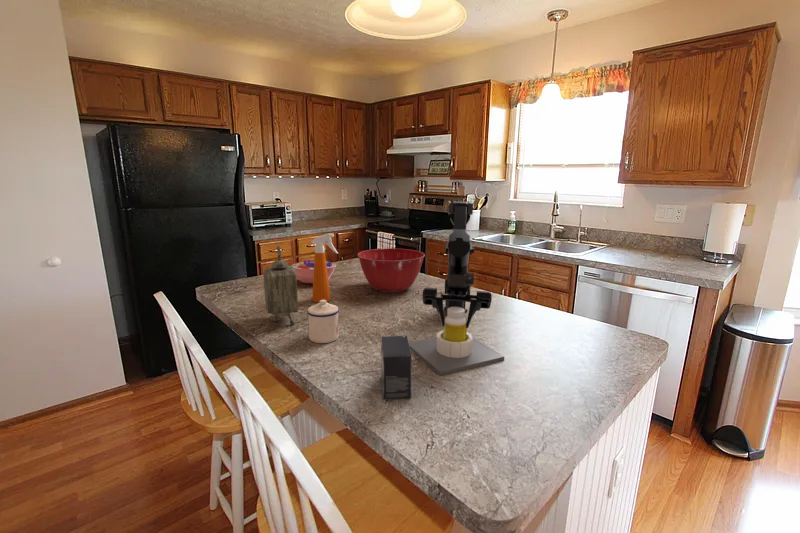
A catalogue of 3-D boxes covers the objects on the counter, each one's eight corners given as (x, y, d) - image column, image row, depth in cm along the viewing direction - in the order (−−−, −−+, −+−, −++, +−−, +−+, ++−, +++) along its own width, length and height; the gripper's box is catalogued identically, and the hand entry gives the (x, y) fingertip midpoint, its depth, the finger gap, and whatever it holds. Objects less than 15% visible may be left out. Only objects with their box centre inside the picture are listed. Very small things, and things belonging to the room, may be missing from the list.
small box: (380, 375, 93) (380, 335, 90) (407, 374, 93) (407, 334, 91) (382, 400, 83) (382, 355, 80) (412, 399, 83) (413, 354, 81)
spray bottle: (336, 304, 144) (334, 234, 138) (309, 302, 146) (306, 233, 140) (342, 298, 151) (340, 232, 145) (316, 296, 153) (313, 231, 147)
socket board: (464, 335, 117) (465, 319, 116) (504, 359, 102) (505, 342, 100) (406, 346, 109) (407, 330, 108) (439, 375, 93) (440, 356, 92)
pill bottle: (469, 350, 103) (471, 312, 100) (448, 353, 101) (450, 314, 99) (459, 341, 109) (461, 304, 106) (439, 343, 107) (440, 306, 104)
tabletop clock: (299, 326, 122) (295, 249, 117) (269, 330, 119) (264, 251, 113) (293, 311, 135) (289, 242, 130) (266, 314, 132) (261, 243, 126)
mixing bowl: (350, 283, 173) (349, 249, 169) (407, 277, 184) (408, 245, 180) (370, 301, 147) (370, 262, 144) (435, 294, 158) (436, 257, 155)
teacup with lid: (344, 339, 113) (343, 302, 110) (314, 346, 108) (313, 307, 105) (328, 326, 123) (327, 291, 120) (301, 332, 118) (299, 296, 115)
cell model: (294, 278, 180) (293, 254, 177) (337, 277, 182) (337, 254, 180) (288, 288, 164) (287, 262, 161) (335, 287, 166) (335, 262, 163)
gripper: (424, 259, 105) (418, 311, 97) (493, 263, 102) (494, 316, 94) (425, 279, 114) (421, 328, 106) (489, 283, 111) (489, 333, 103)
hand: (455, 326), depth 102 cm, fingers closed on pill bottle, 6 cm apart
